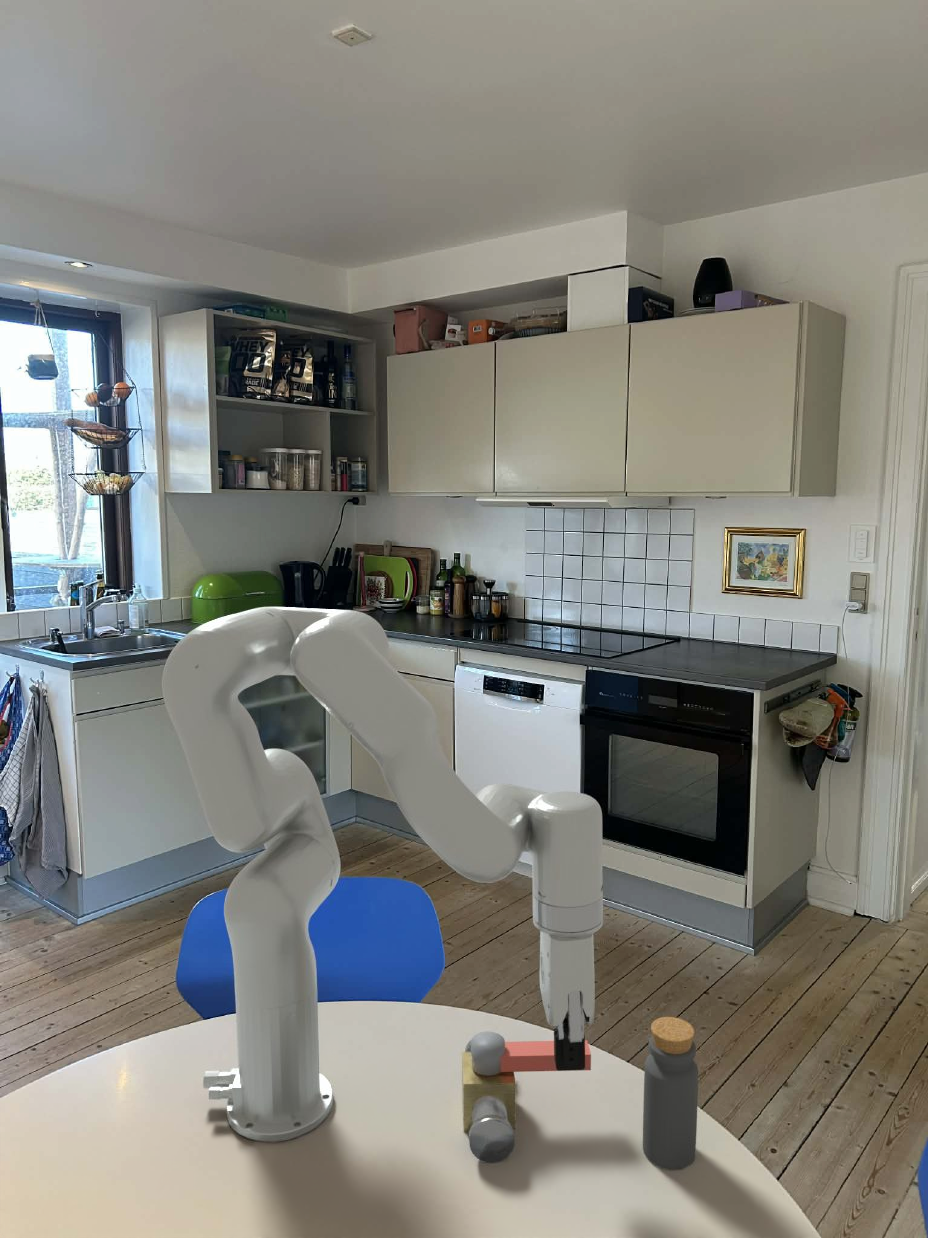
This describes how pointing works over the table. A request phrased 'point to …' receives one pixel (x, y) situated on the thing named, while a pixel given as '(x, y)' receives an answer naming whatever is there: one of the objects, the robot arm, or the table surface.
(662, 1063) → the bottle
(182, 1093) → the table surface
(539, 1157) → the table surface
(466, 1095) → the valve body
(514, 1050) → the lever
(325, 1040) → the table surface
